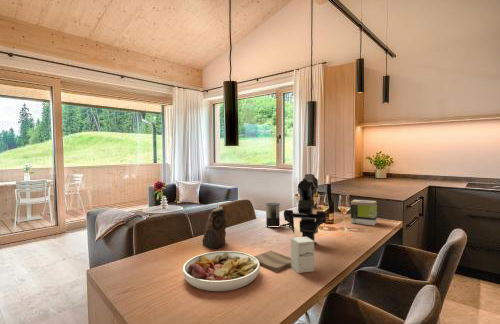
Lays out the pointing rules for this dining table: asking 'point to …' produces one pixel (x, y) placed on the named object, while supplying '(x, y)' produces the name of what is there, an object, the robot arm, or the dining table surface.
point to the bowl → (221, 270)
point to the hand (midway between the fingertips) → (303, 232)
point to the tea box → (364, 212)
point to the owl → (215, 229)
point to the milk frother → (273, 215)
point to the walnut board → (273, 261)
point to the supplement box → (302, 254)
